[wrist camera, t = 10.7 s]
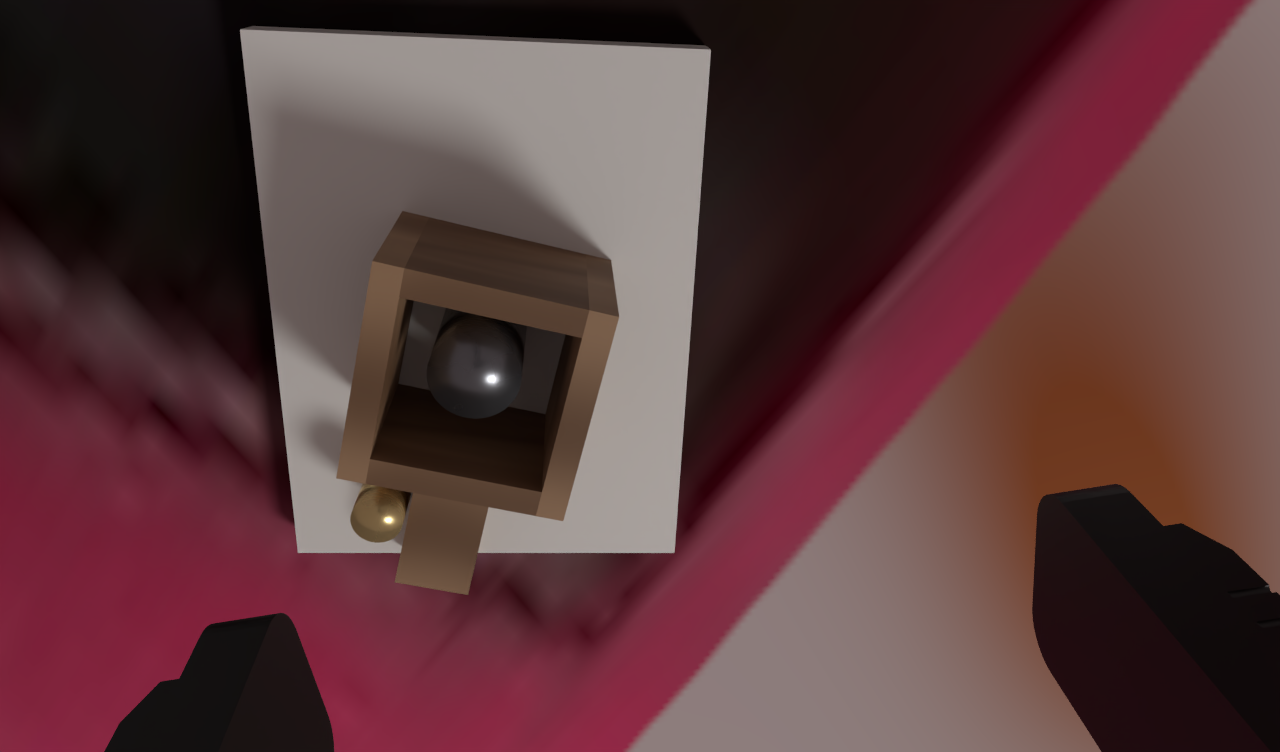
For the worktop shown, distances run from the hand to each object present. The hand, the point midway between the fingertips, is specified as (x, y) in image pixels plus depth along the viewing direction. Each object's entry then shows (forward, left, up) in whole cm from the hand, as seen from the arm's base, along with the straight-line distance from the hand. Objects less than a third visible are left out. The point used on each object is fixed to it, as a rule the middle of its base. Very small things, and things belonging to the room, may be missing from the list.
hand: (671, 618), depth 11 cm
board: (+5, -4, -22) cm, 22 cm away
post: (+5, -4, -21) cm, 21 cm away
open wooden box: (+7, -4, -21) cm, 22 cm away
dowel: (+10, -7, -21) cm, 24 cm away
